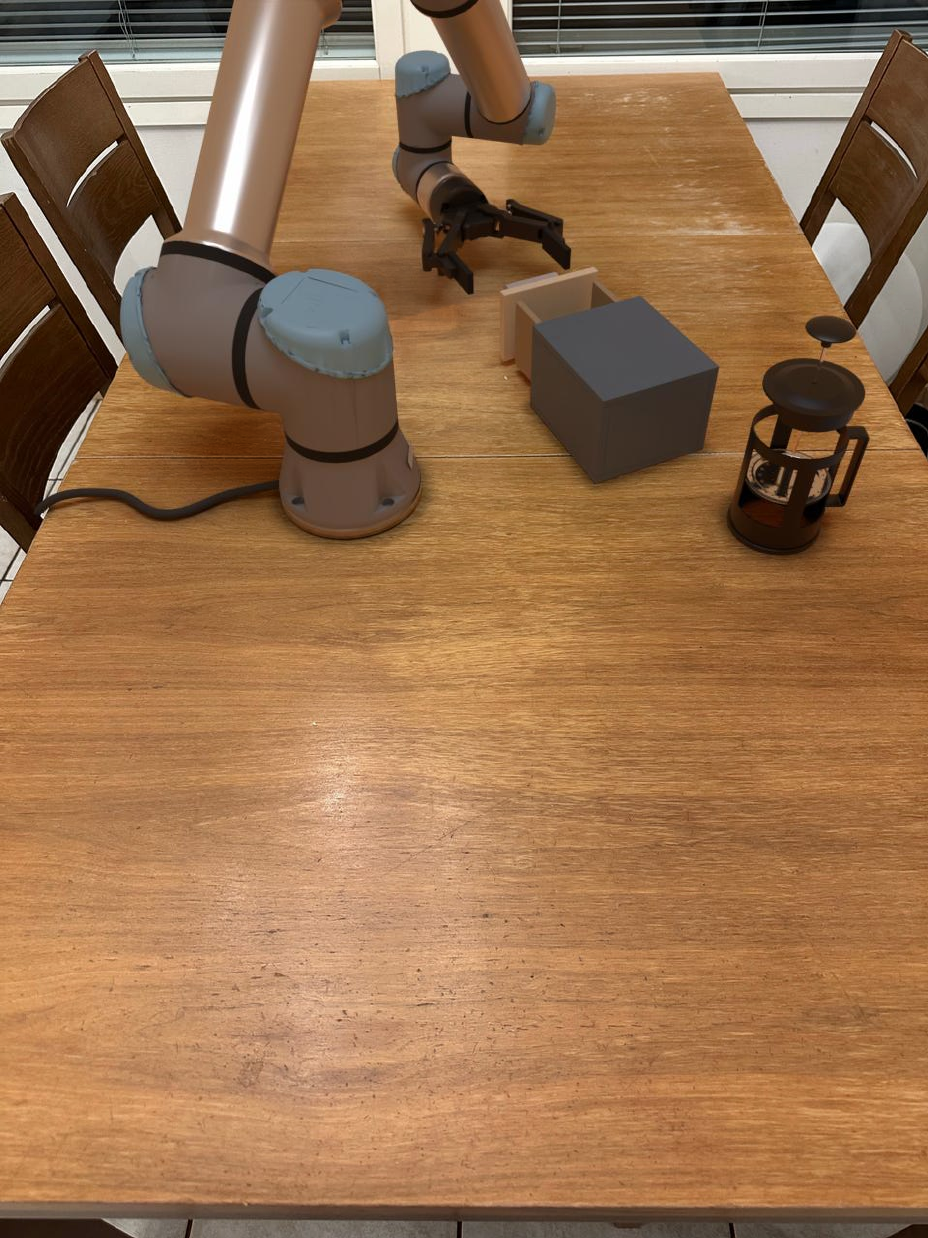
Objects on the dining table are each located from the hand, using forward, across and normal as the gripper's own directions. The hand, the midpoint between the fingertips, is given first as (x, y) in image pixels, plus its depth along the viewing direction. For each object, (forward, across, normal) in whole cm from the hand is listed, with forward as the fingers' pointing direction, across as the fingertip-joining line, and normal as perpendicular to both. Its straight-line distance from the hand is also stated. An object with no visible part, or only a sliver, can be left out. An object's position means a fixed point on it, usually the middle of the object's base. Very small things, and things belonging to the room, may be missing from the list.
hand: (520, 271), depth 119 cm
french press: (+46, -7, -7) cm, 47 cm away
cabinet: (+25, 0, -7) cm, 26 cm away
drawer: (+12, 0, -6) cm, 14 cm away
